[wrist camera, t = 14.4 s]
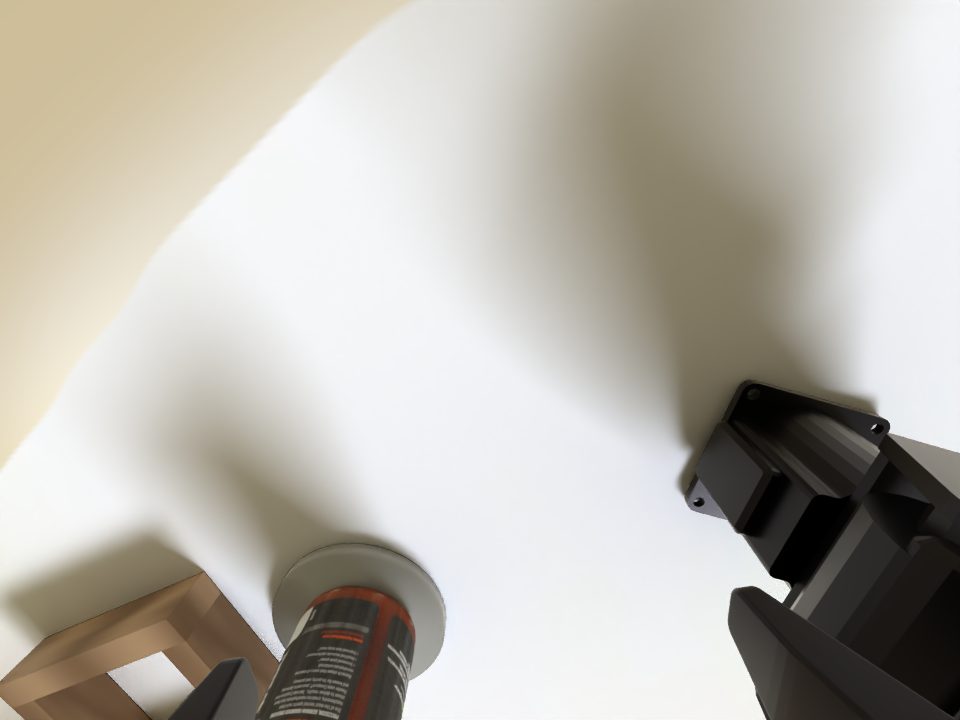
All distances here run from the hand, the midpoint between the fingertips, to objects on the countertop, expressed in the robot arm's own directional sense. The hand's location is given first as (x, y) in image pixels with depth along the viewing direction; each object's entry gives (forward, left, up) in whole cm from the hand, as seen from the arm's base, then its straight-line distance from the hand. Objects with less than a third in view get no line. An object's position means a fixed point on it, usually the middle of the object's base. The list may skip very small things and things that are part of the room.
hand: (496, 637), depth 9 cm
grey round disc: (+3, +15, -13) cm, 20 cm away
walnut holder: (+12, +23, -13) cm, 29 cm away
